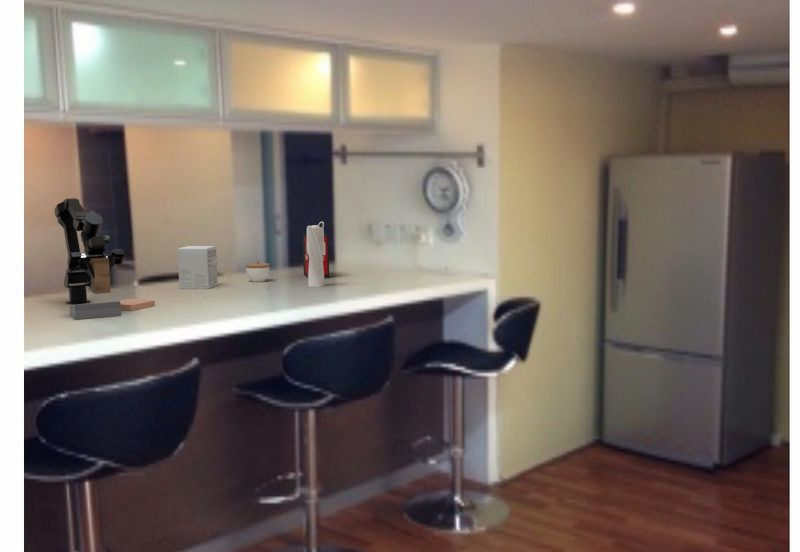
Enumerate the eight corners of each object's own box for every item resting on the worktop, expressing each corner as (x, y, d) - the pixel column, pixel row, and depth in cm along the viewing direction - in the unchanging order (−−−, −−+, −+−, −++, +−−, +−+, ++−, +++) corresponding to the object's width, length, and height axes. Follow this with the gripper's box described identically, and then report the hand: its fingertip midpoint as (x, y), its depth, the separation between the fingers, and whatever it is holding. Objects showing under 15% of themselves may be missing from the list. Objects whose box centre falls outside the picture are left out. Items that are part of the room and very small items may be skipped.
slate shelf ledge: (69, 314, 293) (69, 300, 292) (113, 310, 300) (113, 297, 300) (75, 319, 283) (74, 305, 282) (120, 315, 290) (120, 301, 289)
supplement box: (218, 284, 368) (217, 245, 365) (208, 289, 355) (207, 248, 352) (189, 284, 369) (187, 245, 367) (178, 289, 356) (176, 248, 354)
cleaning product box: (329, 278, 387) (328, 235, 385) (310, 279, 384) (309, 236, 382) (321, 274, 403) (321, 233, 400) (303, 275, 400) (302, 233, 398)
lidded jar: (263, 283, 372) (262, 262, 371) (242, 282, 376) (241, 261, 374) (274, 280, 382) (273, 259, 381) (253, 279, 386) (253, 259, 384)
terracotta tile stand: (107, 308, 306) (106, 303, 305) (131, 303, 316) (130, 298, 316) (131, 310, 300) (131, 305, 300) (154, 305, 311) (154, 300, 311)
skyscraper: (328, 285, 363) (327, 221, 360) (322, 287, 356) (321, 222, 352) (311, 284, 365) (310, 221, 362) (305, 287, 358) (303, 222, 355)
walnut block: (92, 292, 294) (90, 258, 292) (106, 291, 296) (104, 257, 295) (96, 294, 290) (94, 259, 288) (110, 292, 292) (108, 258, 291)
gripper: (67, 229, 288) (77, 264, 280) (121, 227, 298) (132, 260, 291) (63, 250, 295) (72, 284, 288) (116, 247, 306) (126, 280, 298)
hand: (101, 276), depth 291 cm, fingers closed on walnut block, 5 cm apart
